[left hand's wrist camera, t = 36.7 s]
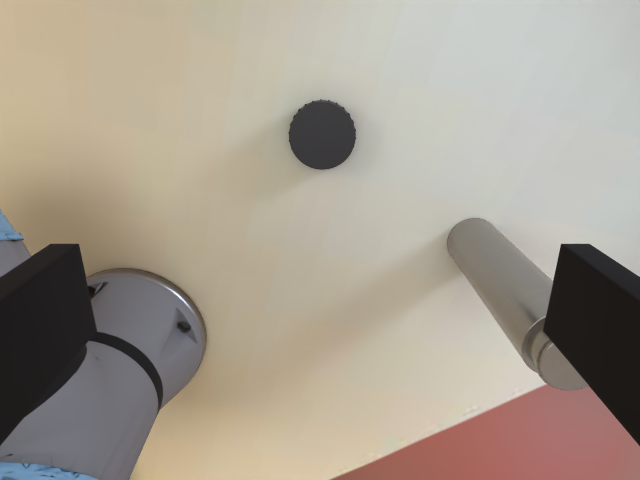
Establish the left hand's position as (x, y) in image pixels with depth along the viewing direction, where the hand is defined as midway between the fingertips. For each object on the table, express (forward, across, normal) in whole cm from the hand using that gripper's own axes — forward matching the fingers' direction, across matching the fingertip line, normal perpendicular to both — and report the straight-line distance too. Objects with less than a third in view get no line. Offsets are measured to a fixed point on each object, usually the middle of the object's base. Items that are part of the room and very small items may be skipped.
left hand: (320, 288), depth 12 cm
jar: (+30, +15, -10) cm, 35 cm away
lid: (+28, 0, 0) cm, 28 cm away
